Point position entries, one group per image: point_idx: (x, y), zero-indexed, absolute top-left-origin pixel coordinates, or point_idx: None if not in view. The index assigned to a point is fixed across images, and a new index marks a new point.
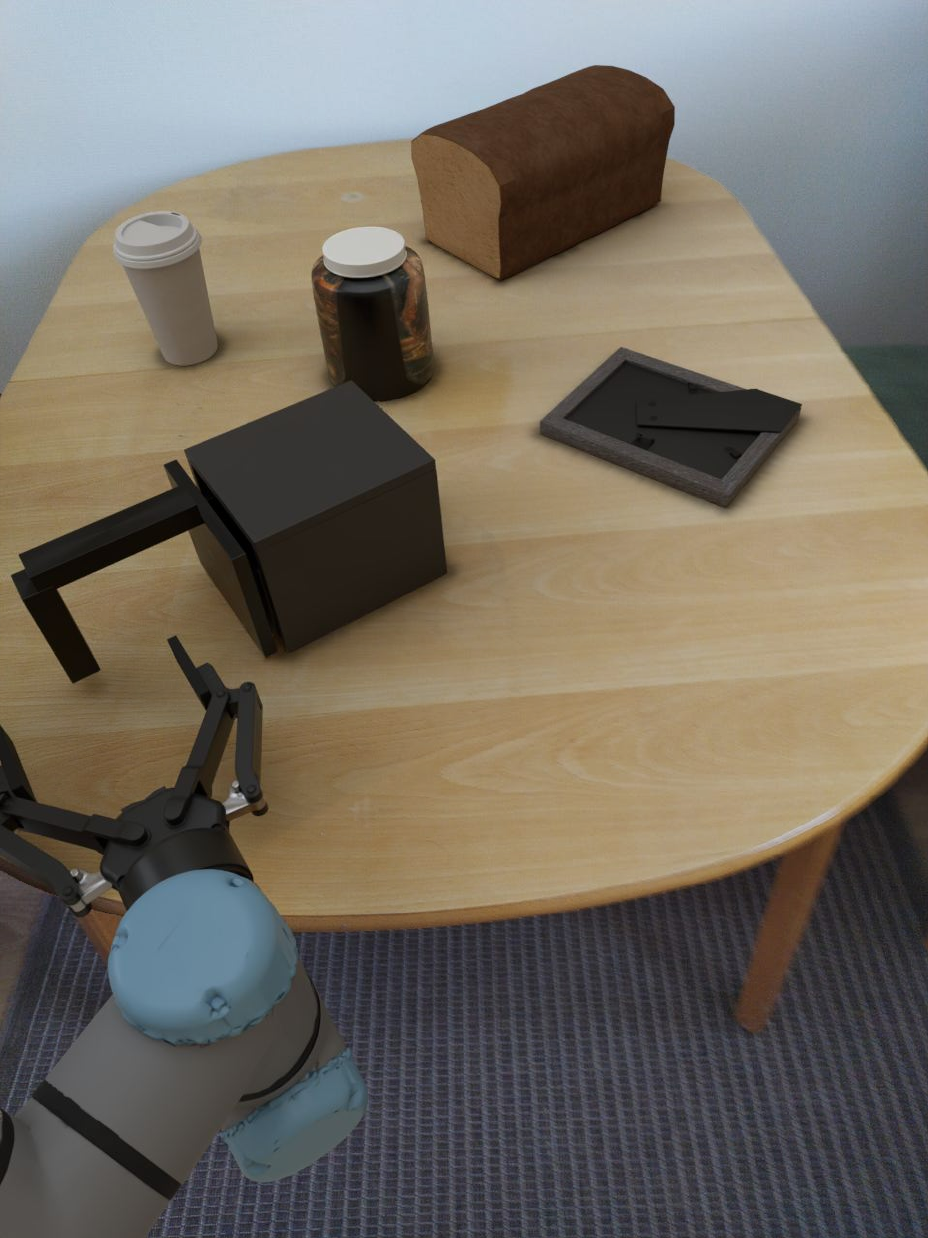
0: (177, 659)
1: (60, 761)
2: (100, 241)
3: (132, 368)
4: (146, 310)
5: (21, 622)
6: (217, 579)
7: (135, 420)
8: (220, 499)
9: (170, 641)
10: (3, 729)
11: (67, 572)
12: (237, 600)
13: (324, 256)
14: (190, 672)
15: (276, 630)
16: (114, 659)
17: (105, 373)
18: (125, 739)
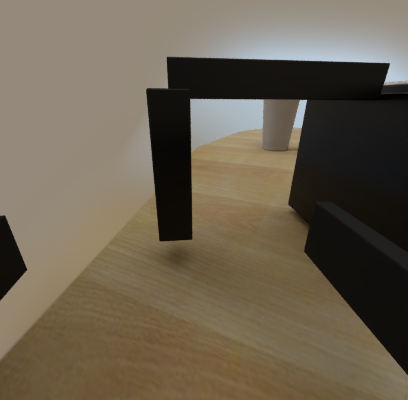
0: (330, 238)
1: (97, 327)
2: (242, 131)
3: (248, 148)
4: (266, 121)
5: (153, 203)
6: None
7: (247, 157)
8: (400, 86)
9: (323, 205)
10: (11, 237)
11: (212, 77)
12: (375, 213)
13: (388, 83)
14: (406, 262)
15: None
16: (204, 243)
17: (236, 147)
18: (185, 336)
